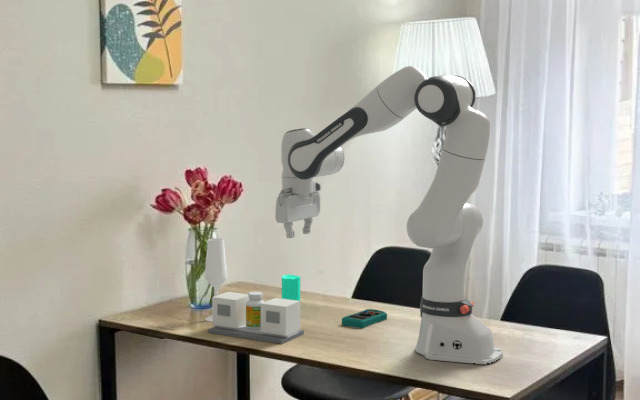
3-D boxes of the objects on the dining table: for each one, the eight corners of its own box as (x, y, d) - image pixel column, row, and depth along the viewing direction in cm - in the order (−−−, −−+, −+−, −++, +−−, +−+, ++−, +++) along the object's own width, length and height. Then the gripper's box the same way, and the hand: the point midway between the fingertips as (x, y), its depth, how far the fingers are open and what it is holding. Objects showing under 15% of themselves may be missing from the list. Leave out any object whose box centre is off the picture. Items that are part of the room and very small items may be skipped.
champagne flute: (211, 322, 264) (211, 242, 261) (200, 318, 269) (200, 239, 267) (231, 319, 268) (231, 240, 265) (220, 315, 273) (220, 237, 271)
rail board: (303, 334, 252) (303, 299, 251) (281, 344, 242) (282, 308, 241) (232, 323, 264) (232, 290, 262) (208, 332, 253) (208, 298, 252)
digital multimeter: (388, 320, 271) (388, 310, 270) (361, 330, 259) (361, 320, 258) (367, 317, 275) (367, 307, 275) (340, 326, 263) (340, 316, 263)
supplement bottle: (251, 330, 248) (251, 296, 247) (242, 326, 253) (242, 292, 252) (268, 328, 251) (268, 293, 250) (259, 323, 256) (259, 290, 255)
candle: (279, 307, 284) (279, 270, 282) (297, 306, 285) (297, 269, 284) (284, 312, 278) (284, 273, 277) (302, 311, 280) (303, 273, 278)
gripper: (289, 189, 242) (290, 241, 243) (323, 184, 260) (324, 231, 261) (269, 189, 245) (270, 239, 246) (304, 184, 263) (305, 231, 264)
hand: (298, 235), depth 254 cm, fingers open, 8 cm apart
